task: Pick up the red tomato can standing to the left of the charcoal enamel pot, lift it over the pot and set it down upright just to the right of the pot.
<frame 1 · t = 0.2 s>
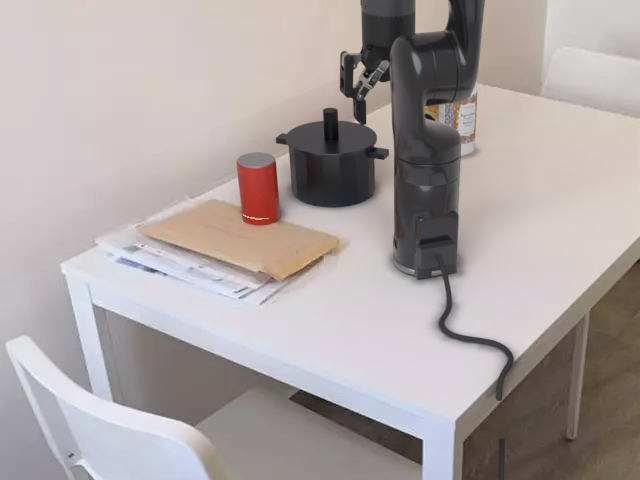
hand: (389, 119, 131), 17 cm above the table, tool pointing down, fingers open, 8 cm apart
pastry: (436, 124, 178), on the table
pot lid: (331, 139, 146), point 9 cm above the table, touching pot
bath foam: (456, 151, 167), on the table
tomato can: (261, 216, 141), on the table
pot: (333, 189, 151), on the table
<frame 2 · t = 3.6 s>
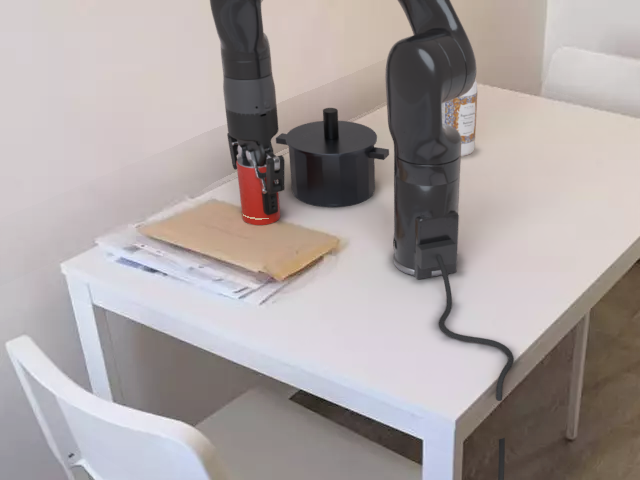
hand: (260, 205, 140), 2 cm above the table, tool pointing down, fingers closed on tomato can, 6 cm apart
tomato can: (261, 216, 141), on the table, touching gripper
everything else where it was.
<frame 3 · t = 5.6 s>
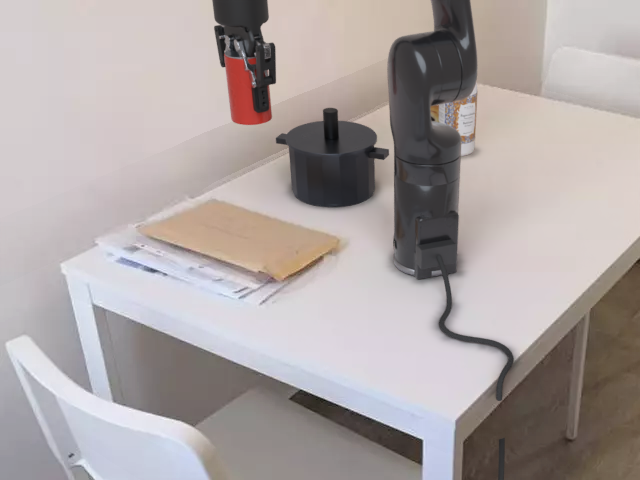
hand: (250, 104, 131), 19 cm above the table, tool pointing down, fingers closed on tomato can, 6 cm apart
tomato can: (251, 118, 132), point 16 cm above the table, touching gripper
everything else where it was.
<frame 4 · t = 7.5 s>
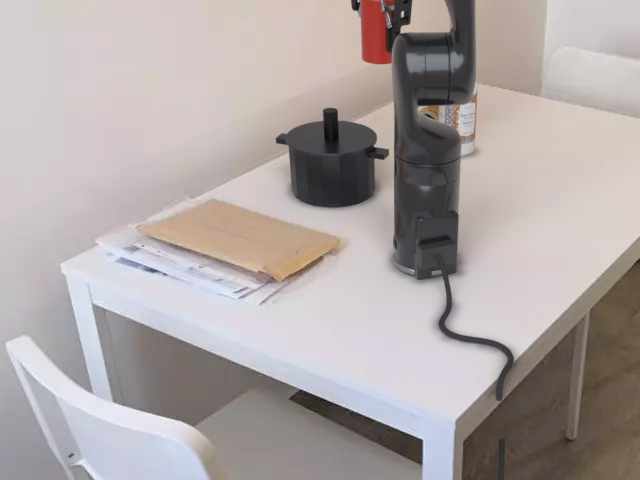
hand: (380, 45, 140), 24 cm above the table, tool pointing down, fingers closed on tomato can, 6 cm apart
tomato can: (380, 58, 141), point 22 cm above the table, touching gripper
everything else where it was.
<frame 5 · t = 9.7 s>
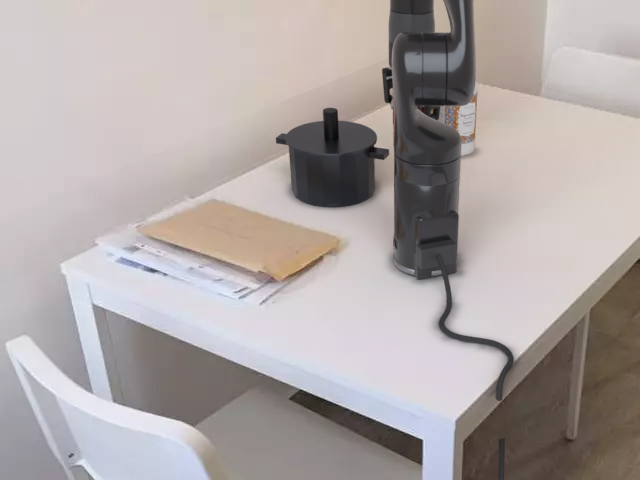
hand: (410, 135, 152), 7 cm above the table, tool pointing down, fingers closed on tomato can, 6 cm apart
tomato can: (410, 146, 153), point 5 cm above the table, touching gripper
everything else where it was.
when the fingers open (2 cm above the table, at t = 11.5 s): tomato can stays where it is, on the table.
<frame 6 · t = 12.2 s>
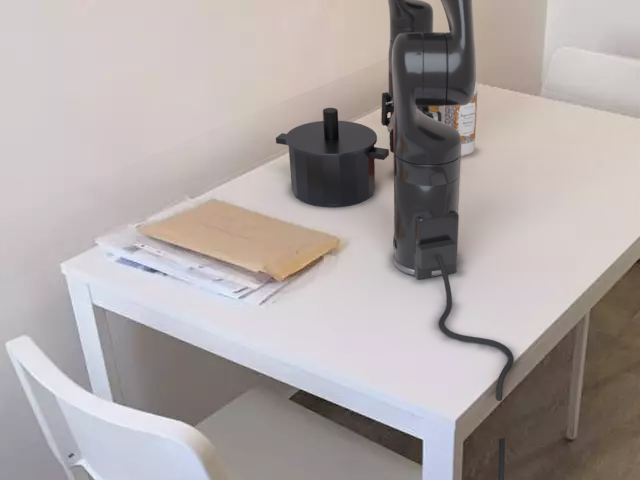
hand: (410, 159, 155), 3 cm above the table, tool pointing down, fingers open, 8 cm apart
tomato can: (410, 175, 156), on the table
everything else where it was.
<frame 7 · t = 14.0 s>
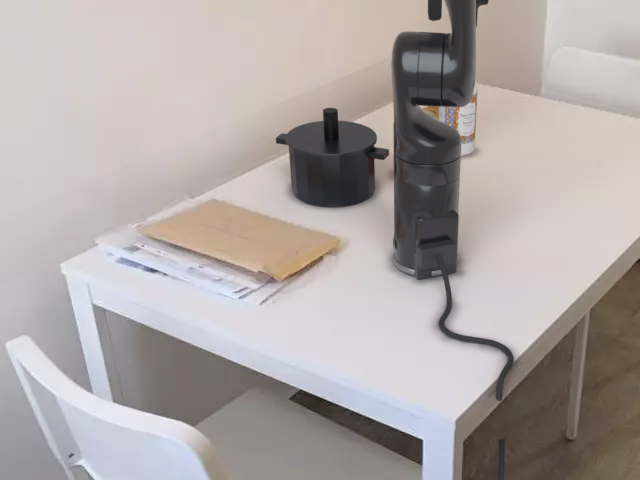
hand: (451, 25, 141), 26 cm above the table, tool pointing down, fingers open, 8 cm apart
nothing on the table moved.
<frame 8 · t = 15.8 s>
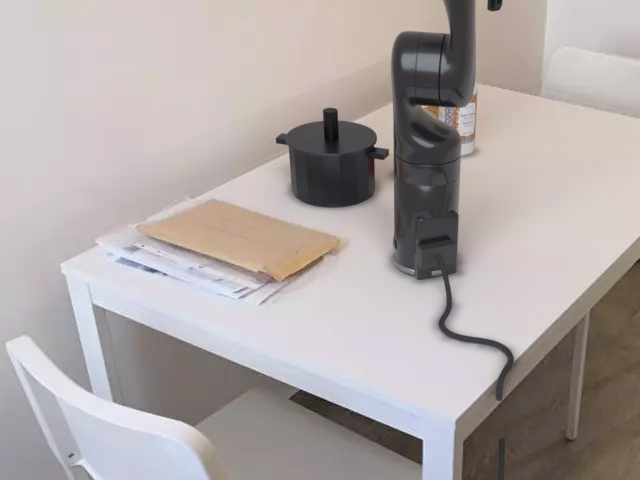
hand: (476, 4, 138), 30 cm above the table, tool pointing down, fingers open, 8 cm apart
nothing on the table moved.
at the end: tomato can inside the target area on the table beside the pot (0.1 cm from its centre), on the table; tomato can tilted 0°; the gripper is holding nothing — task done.
